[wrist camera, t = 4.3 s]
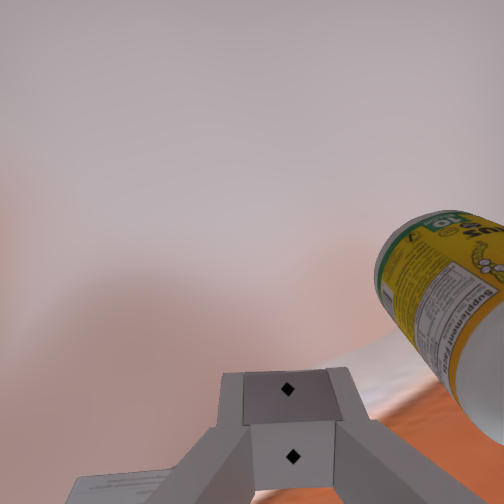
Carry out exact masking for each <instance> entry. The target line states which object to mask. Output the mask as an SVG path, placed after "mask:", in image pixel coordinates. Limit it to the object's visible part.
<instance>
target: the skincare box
mask: <svg viewBox="0 0 504 504" xmlns="http://www.w3.org/2000/svg"><path fill="white" fill-rule="evenodd" d="M172 470H173V469H167V470H155V471H144V472H133V473H120V474H108V475H97V476H86V477H79V478H78V479H77V480H76V482H75V484H74V486H73V488H72V490H71V492H70V495H69V497H68V499H67V501H66V503H65V504H143V503H144V502H145V501H146V500H147V499H148V497H149V496H150V495H151V494H152V493H153V492H154V491H155V489H156V488H157V487H158V486H159V485H160V484H161V483H162V481H163V480H164V479H165V478H166V477H167V476H168V475H169V474H170V472H171V471H172Z"/></svg>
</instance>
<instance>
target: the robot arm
mask: <svg viewBox="0 0 504 504" xmlns="http://www.w3.org/2000/svg"><path fill="white" fill-rule="evenodd" d="M319 487H334V491H335V492H336V493H337V495H338V496H339V497H340V498H341V500H342V501H343V502H344V503H345V504H488V503H486V502H485V501H484V500H482V499H481V498H480V497H478V496H477V495H476V494H475V493H473V492H472V491H471V490H469V489H468V488H467V487H465V486H464V485H463V484H461V483H460V482H459V481H457V480H456V479H455V478H453V477H452V476H451V475H449V474H448V473H447V472H445V471H444V470H443V469H441V468H440V467H439V466H437V465H436V464H435V463H433V462H432V461H431V460H429V459H428V458H427V457H426V456H424V455H423V454H422V453H420V452H419V451H418V450H416V449H415V448H414V447H412V446H411V445H410V444H408V443H407V442H406V441H404V440H403V439H402V438H400V437H399V436H398V435H396V434H395V433H394V432H392V431H391V430H390V429H388V428H387V427H386V426H384V425H383V424H382V423H380V422H379V421H378V420H370V419H369V416H368V414H367V412H366V409H365V407H364V405H363V402H362V400H361V397H360V395H359V393H358V390H357V388H356V386H355V383H354V381H353V378H352V376H351V374H350V371H349V369H348V368H346V367H338V368H325V369H316V370H301V371H300V370H298V371H269V372H245V373H223V376H222V379H221V389H220V398H219V408H218V417H217V426H216V427H215V428H209V429H208V430H207V432H206V433H205V434H204V435H203V436H202V437H201V438H200V440H199V441H198V442H197V443H196V444H195V445H194V447H192V449H191V450H190V451H189V452H188V453H187V454H186V455H185V456H184V458H183V459H182V460H181V461H180V462H179V463H178V464H177V466H176V467H175V468H174V469H173V470H172V471H171V472H170V474H169V475H168V476H167V477H166V478H165V479H164V480H163V481H162V483H161V484H160V485H159V486H158V487H157V488H156V489H155V491H154V492H153V493H152V494H151V495H150V496H149V497H148V499H147V500H146V501H145V502H144V503H143V504H250V503H251V501H252V499H253V497H254V495H255V491H260V490H273V489H286V488H319Z"/></svg>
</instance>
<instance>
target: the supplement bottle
mask: <svg viewBox="0 0 504 504" xmlns="http://www.w3.org/2000/svg"><path fill="white" fill-rule="evenodd" d="M374 284H375V289H376V292H377V295H378V298H379V300H380V302H381V304H382V305H383V307H384V308H385V309H386V311H387V312H388V314H389V315H390V316H391V317H392V319H393V320H394V321H395V323H396V324H397V326H398V327H399V328H400V330H401V331H402V332H403V333H404V335H405V336H406V337H407V338H408V340H409V341H410V342H411V344H412V345H413V346H414V348H415V349H416V350H417V351H418V353H419V354H420V355H421V356H422V358H423V359H424V361H425V362H426V363H427V365H428V366H429V367H430V369H431V370H432V371H433V372H434V374H435V375H436V376H437V378H438V379H439V380H440V382H441V383H442V384H443V386H444V387H445V388H446V389H447V391H448V392H449V393H450V395H451V396H452V397H453V399H454V400H455V401H456V402H457V404H458V405H459V406H460V408H461V409H462V410H463V411H464V413H465V414H466V415H467V416H468V417H469V419H470V420H471V421H472V422H473V423H474V424H475V425H476V426H477V427H478V428H479V429H480V430H481V431H482V432H483V433H484V434H486V435H487V436H488V437H490V438H491V439H493V440H494V441H496V442H497V443H499V444H501V445H503V446H504V226H502V225H499V224H497V223H494V222H492V221H489V220H486V219H484V218H482V217H479V216H476V215H473V214H470V213H467V212H463V211H457V210H443V211H438V212H434V213H430V214H426V215H423V216H420V217H417V218H415V219H412V220H410V221H408V222H407V223H406V224H404V225H403V226H401V227H400V228H399V229H397V230H396V231H395V232H394V233H393V234H392V235H391V236H390V237H389V239H388V240H387V241H386V243H385V244H384V246H383V247H382V249H381V251H380V253H379V256H378V258H377V261H376V264H375V270H374Z"/></svg>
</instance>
